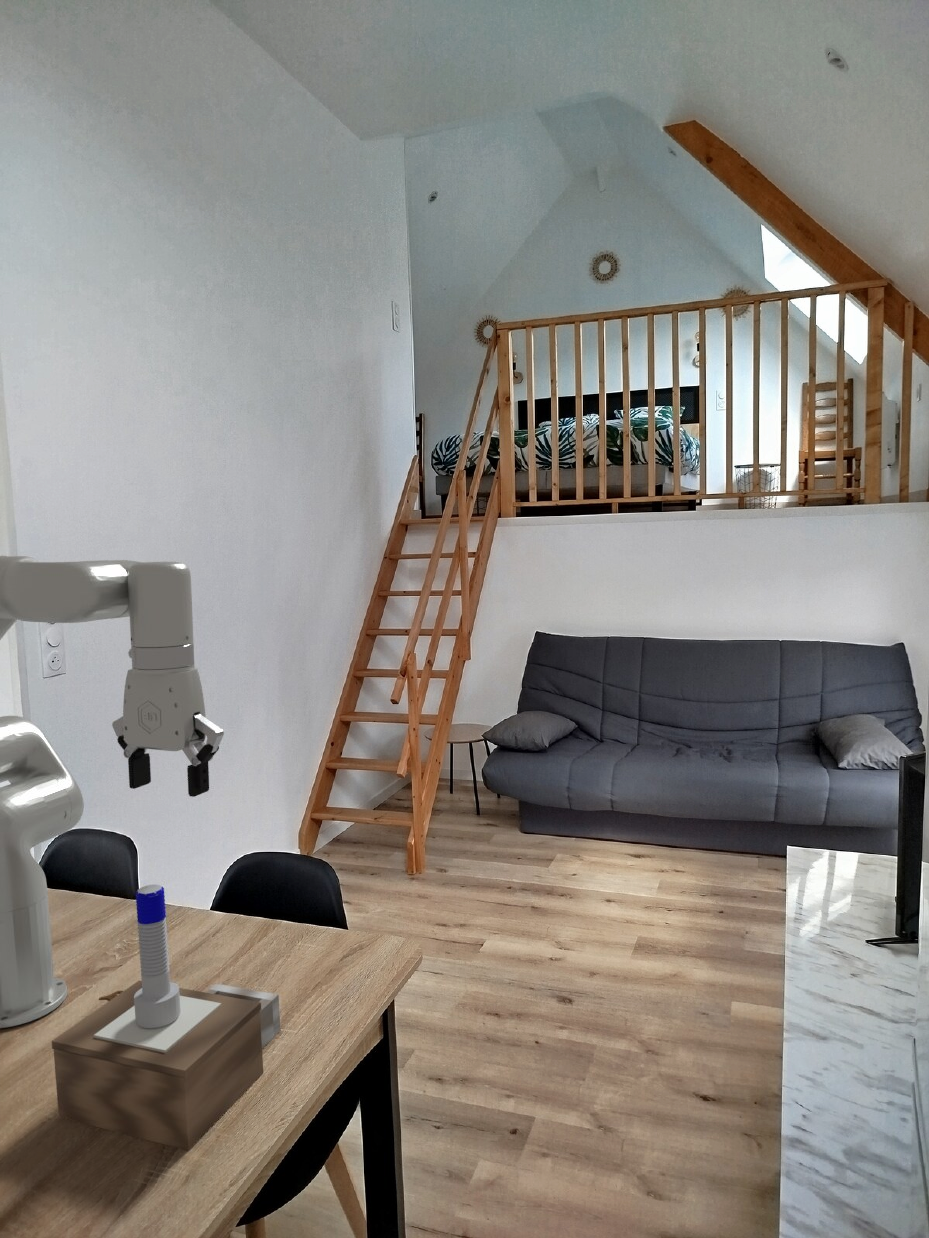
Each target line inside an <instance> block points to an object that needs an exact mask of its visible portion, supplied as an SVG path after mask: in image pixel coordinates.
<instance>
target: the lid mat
mask: <svg viewBox="0 0 929 1238" xmlns="http://www.w3.org/2000/svg"><path fill="white" fill-rule="evenodd" d="M221 1006H222V1004H221V1003H217V1002H212V1001H206V1000H201V999H196V998H190V997H185V996H180V1009H181V1012H180V1015H179V1016H178V1018H177V1019H176V1020H174V1021H173V1022H172V1023H170V1024H168V1025H166V1026H163V1027H159V1028H152V1029H148V1028H143V1027H140V1026H139V1025H138V1024H137V1023H136V1019H135V1005H134V1006H133V1007H132V1008H130V1009H129V1010H128V1011H126V1012H125V1013H123V1014H122V1015H121V1016H119V1017H118V1018H117V1019H115V1020H114V1021H112V1022H111V1023H110V1024H108V1025H107V1026H106V1027H104V1028H103V1029H101V1030H100V1031H99V1032H97V1033H96V1034H95V1035H94V1038H98V1039H103V1040H108V1041H112V1042H117V1043H121V1044H126V1045H131V1046H135V1047H140V1048H145V1049H149V1050H154V1051H159V1052H163V1053H166V1052H167V1051H168V1050H170V1049H171V1048H172V1047H173V1046H174V1045H176V1044H177V1043H178V1042H179V1041H180V1040H181V1039H183V1038H184V1037H185V1036H186V1035H187V1034H189V1033H190V1032H191V1031H192V1030H193V1029H195V1028H196V1027H197V1026H198V1025H199V1024H200V1023H202V1022H203V1021H204V1020H205V1019H206V1018H208V1017H209V1016H210V1015H211V1014H212V1013H213V1012H215V1011H216V1010H217V1009H218V1008H219V1007H221Z"/></svg>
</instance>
